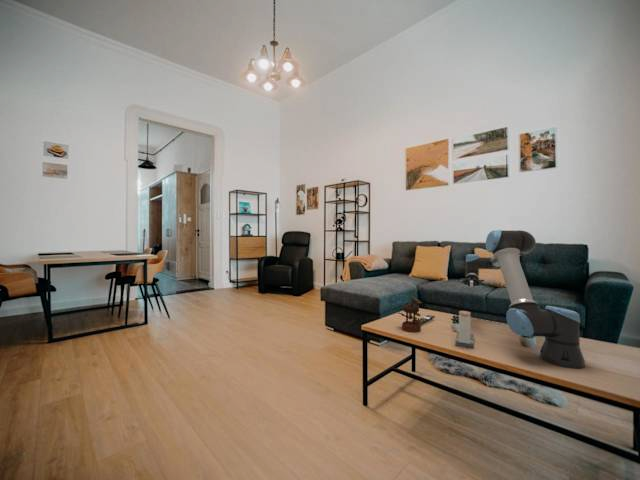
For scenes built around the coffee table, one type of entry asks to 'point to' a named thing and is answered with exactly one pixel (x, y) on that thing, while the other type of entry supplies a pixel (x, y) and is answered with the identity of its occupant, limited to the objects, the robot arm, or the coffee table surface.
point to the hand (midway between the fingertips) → (471, 284)
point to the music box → (410, 308)
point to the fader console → (465, 343)
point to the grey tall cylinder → (464, 326)
